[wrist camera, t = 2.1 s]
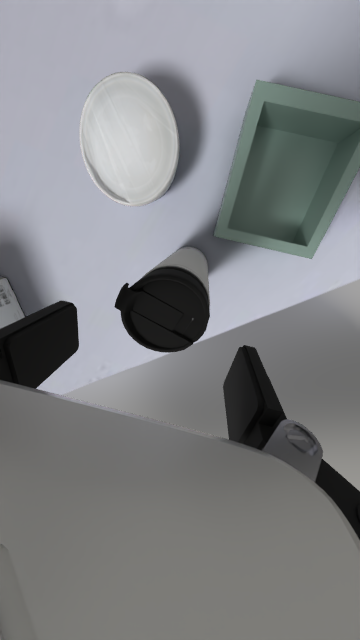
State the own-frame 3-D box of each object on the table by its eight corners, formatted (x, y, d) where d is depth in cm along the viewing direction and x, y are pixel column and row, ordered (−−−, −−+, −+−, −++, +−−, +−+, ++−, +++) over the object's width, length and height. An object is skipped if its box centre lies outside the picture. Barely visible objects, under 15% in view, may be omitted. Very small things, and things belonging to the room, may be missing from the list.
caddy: (245, 111, 21) (256, 79, 17) (351, 133, 21) (390, 108, 16) (213, 235, 27) (214, 236, 23) (294, 254, 27) (311, 259, 23)
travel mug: (179, 237, 28) (135, 250, 10) (215, 260, 29) (231, 310, 11) (161, 272, 31) (100, 330, 13) (194, 292, 32) (180, 373, 14)
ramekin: (89, 172, 26) (63, 159, 21) (128, 75, 21) (106, 32, 16) (152, 227, 28) (141, 227, 23) (200, 150, 23) (199, 131, 19)
